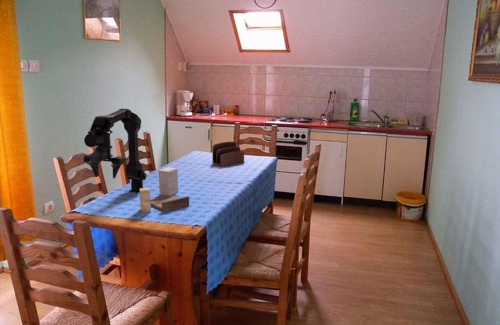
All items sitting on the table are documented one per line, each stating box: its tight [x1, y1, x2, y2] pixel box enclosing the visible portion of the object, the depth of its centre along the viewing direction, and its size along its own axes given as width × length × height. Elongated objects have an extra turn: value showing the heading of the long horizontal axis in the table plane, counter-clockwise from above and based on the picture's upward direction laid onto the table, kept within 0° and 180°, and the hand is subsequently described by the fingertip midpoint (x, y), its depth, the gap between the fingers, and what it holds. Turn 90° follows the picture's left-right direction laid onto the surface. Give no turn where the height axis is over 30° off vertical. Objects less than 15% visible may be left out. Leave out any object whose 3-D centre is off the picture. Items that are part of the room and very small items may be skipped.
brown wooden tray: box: [150, 195, 190, 213], centre depth 204 cm, size 16×14×4 cm
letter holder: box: [211, 141, 245, 167], centre depth 287 cm, size 10×20×14 cm, turn 129°
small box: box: [158, 166, 179, 196], centre depth 220 cm, size 8×6×13 cm
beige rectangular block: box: [139, 187, 152, 214], centre depth 194 cm, size 5×4×10 cm
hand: (105, 177), depth 196 cm, fingers open, 9 cm apart
